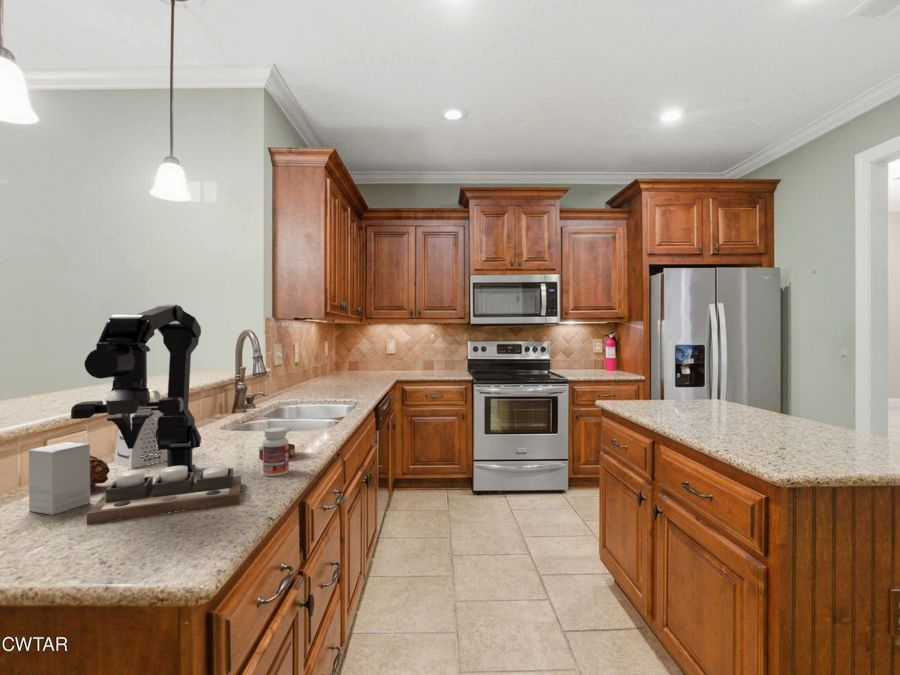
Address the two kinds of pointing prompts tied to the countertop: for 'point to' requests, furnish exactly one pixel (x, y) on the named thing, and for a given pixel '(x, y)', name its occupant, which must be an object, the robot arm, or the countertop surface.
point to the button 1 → (130, 478)
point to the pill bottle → (275, 452)
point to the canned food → (290, 450)
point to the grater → (141, 443)
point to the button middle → (174, 474)
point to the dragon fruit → (97, 471)
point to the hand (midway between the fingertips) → (130, 448)
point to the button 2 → (215, 472)
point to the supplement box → (59, 477)
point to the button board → (165, 497)
